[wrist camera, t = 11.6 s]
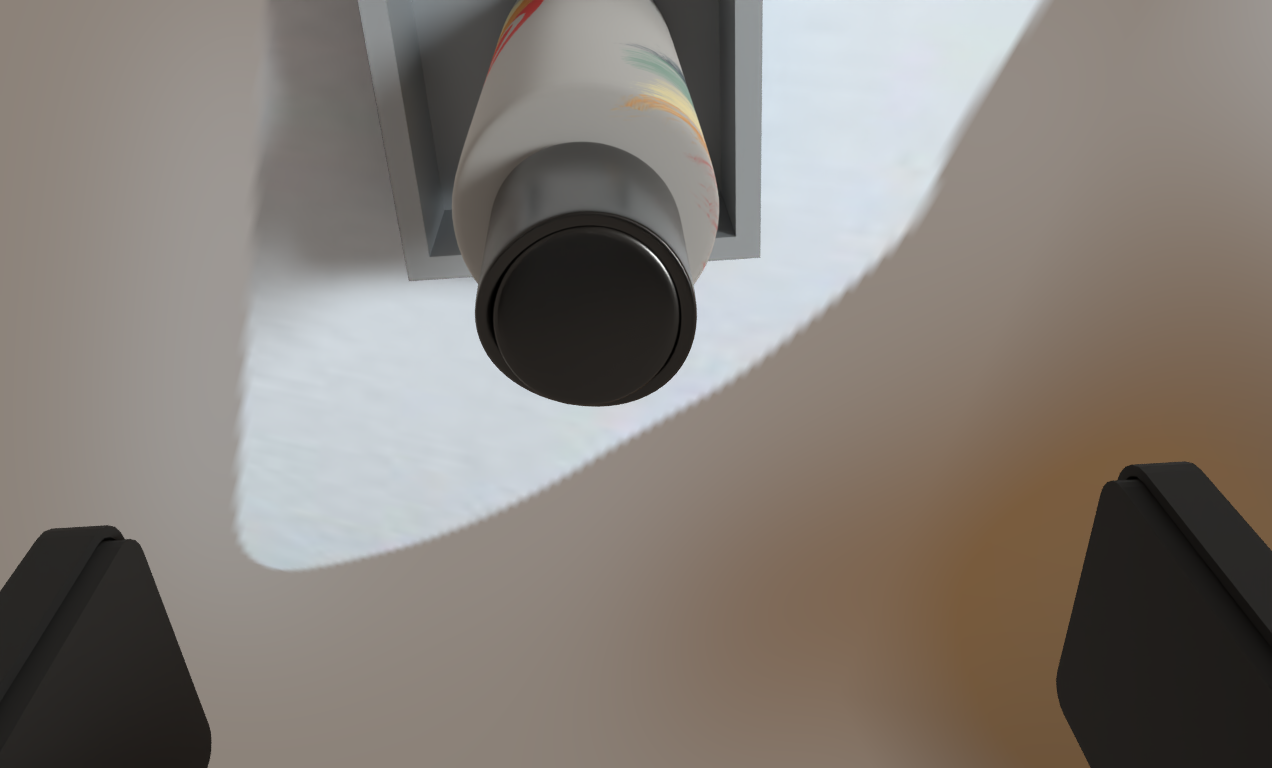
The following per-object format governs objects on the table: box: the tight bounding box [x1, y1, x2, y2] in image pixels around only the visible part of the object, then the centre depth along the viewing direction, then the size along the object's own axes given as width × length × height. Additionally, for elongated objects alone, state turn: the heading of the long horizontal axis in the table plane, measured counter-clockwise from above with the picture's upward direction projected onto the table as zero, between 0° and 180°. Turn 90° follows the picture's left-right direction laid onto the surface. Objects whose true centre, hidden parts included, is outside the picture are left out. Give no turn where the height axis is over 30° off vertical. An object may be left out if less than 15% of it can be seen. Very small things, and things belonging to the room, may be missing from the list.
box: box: [358, 0, 763, 281], centre depth 33 cm, size 12×12×5 cm
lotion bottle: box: [452, 0, 719, 407], centre depth 26 cm, size 6×6×20 cm
